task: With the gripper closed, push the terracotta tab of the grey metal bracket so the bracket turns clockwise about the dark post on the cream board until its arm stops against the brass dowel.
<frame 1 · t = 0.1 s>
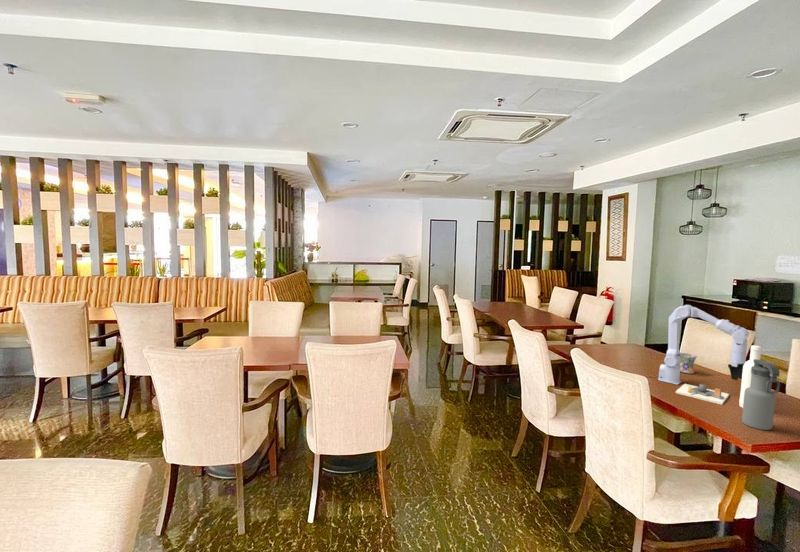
hand: (736, 378, 201), 10 cm above the table, tool pointing down, fingers open, 7 cm apart
bottle: (749, 408, 188), on the table
base board: (702, 394, 205), on the table
grey metal bracket: (708, 389, 202), point 3 cm above the table, hinge at 0.0°
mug: (684, 371, 242), on the table
water bottle: (756, 426, 169), on the table
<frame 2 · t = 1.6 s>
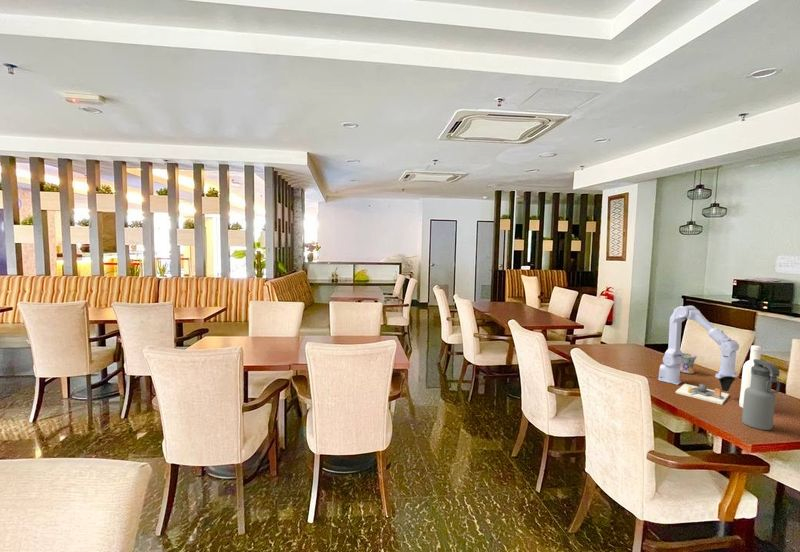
hand: (725, 390, 200), 4 cm above the table, tool pointing down, fingers closed
nothing on the table moved.
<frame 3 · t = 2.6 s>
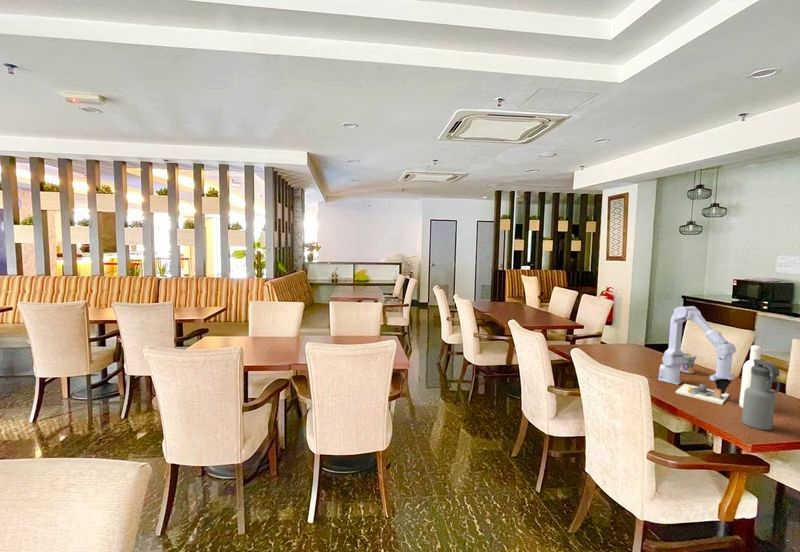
hand: (721, 393, 199), 3 cm above the table, tool pointing down, fingers closed
nothing on the table moved.
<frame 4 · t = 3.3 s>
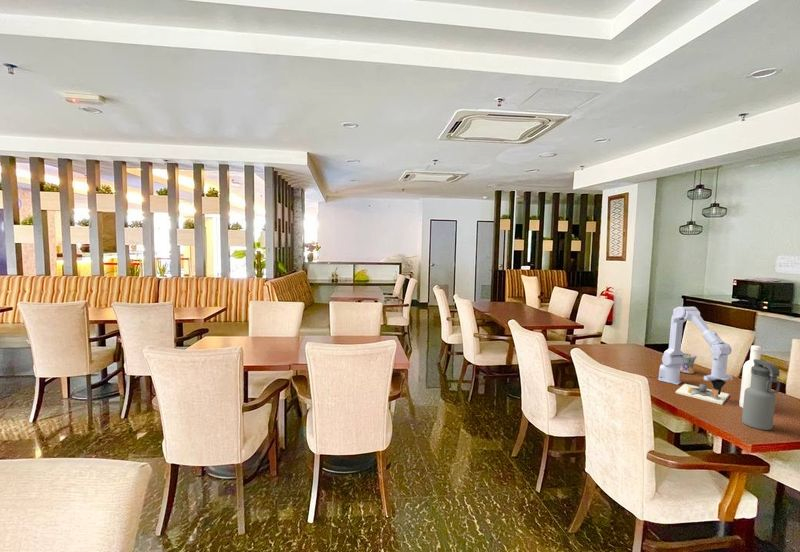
hand: (716, 393, 198), 3 cm above the table, tool pointing down, fingers closed, pressing on grey metal bracket
grey metal bracket: (706, 389, 202), point 3 cm above the table, hinge at 15.9°, touching gripper
everything else where it was.
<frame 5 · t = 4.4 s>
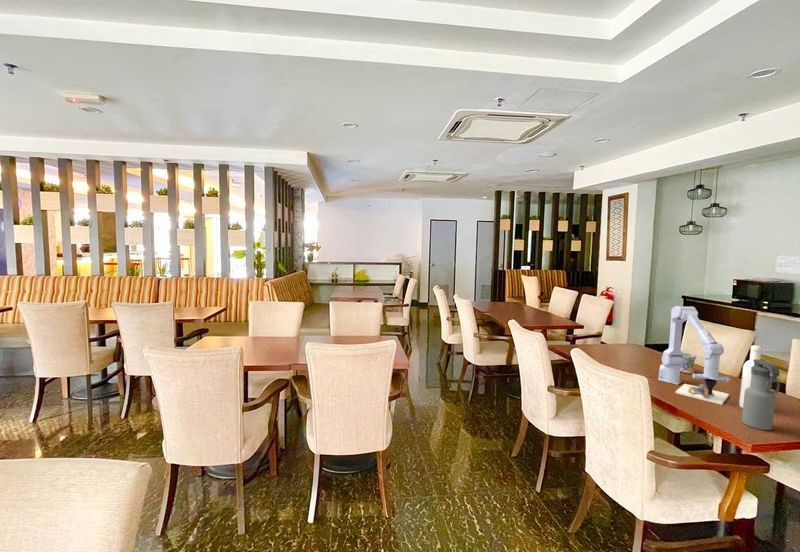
hand: (709, 393, 198), 3 cm above the table, tool pointing down, fingers closed, pressing on grey metal bracket
grey metal bracket: (703, 389, 202), point 3 cm above the table, hinge at 48.7°, touching gripper
everything else where it was.
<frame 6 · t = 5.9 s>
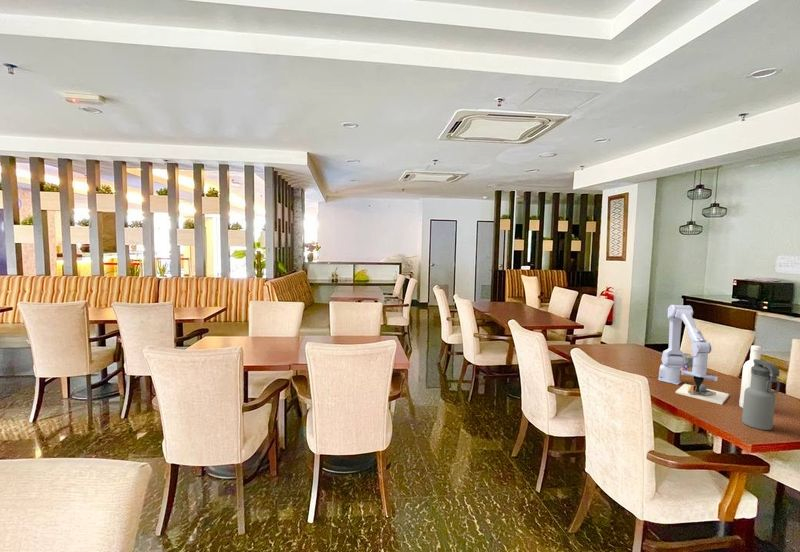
hand: (697, 391, 200), 3 cm above the table, tool pointing down, fingers closed, pressing on grey metal bracket
grey metal bracket: (699, 388, 203), point 3 cm above the table, hinge at 91.4°, touching base board, gripper
everything else where it was.
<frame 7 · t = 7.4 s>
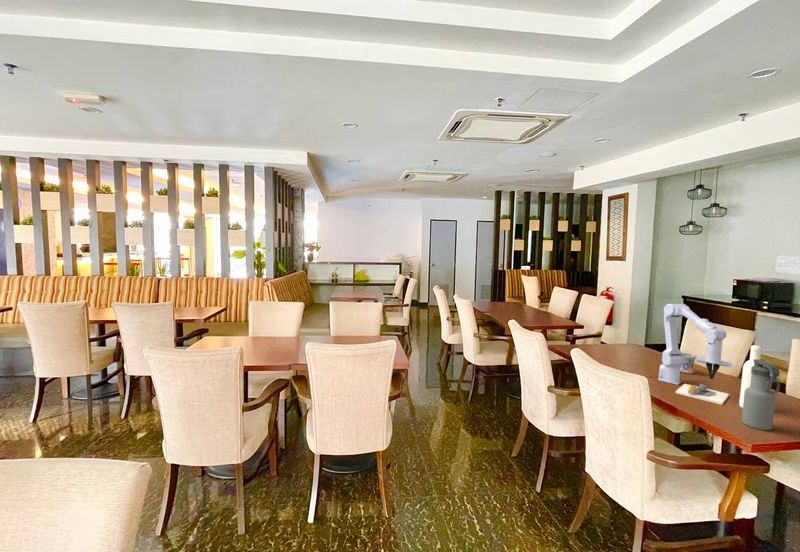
hand: (711, 378, 200), 10 cm above the table, tool pointing down, fingers closed
grey metal bracket: (699, 388, 203), point 3 cm above the table, hinge at 91.4°, touching base board
everything else where it was.
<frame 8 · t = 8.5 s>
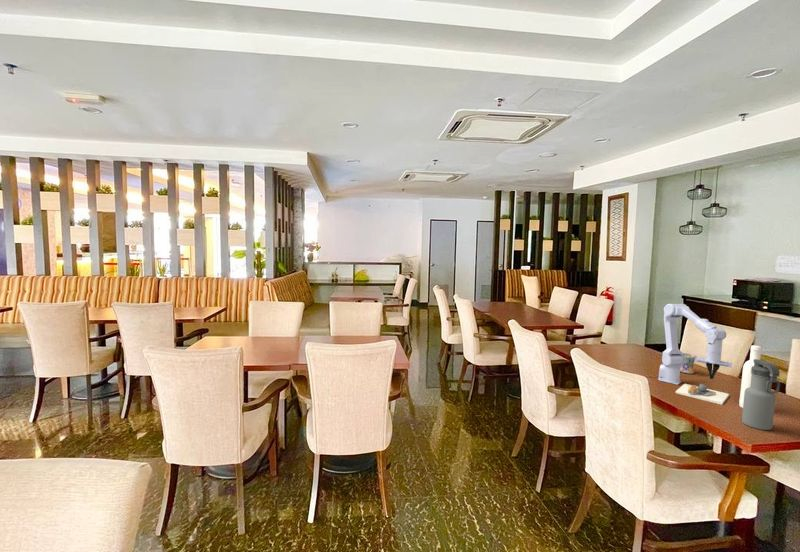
hand: (711, 378, 200), 10 cm above the table, tool pointing down, fingers closed
nothing on the table moved.
at the end: grey metal bracket at +91° (first picture: +0°) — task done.
